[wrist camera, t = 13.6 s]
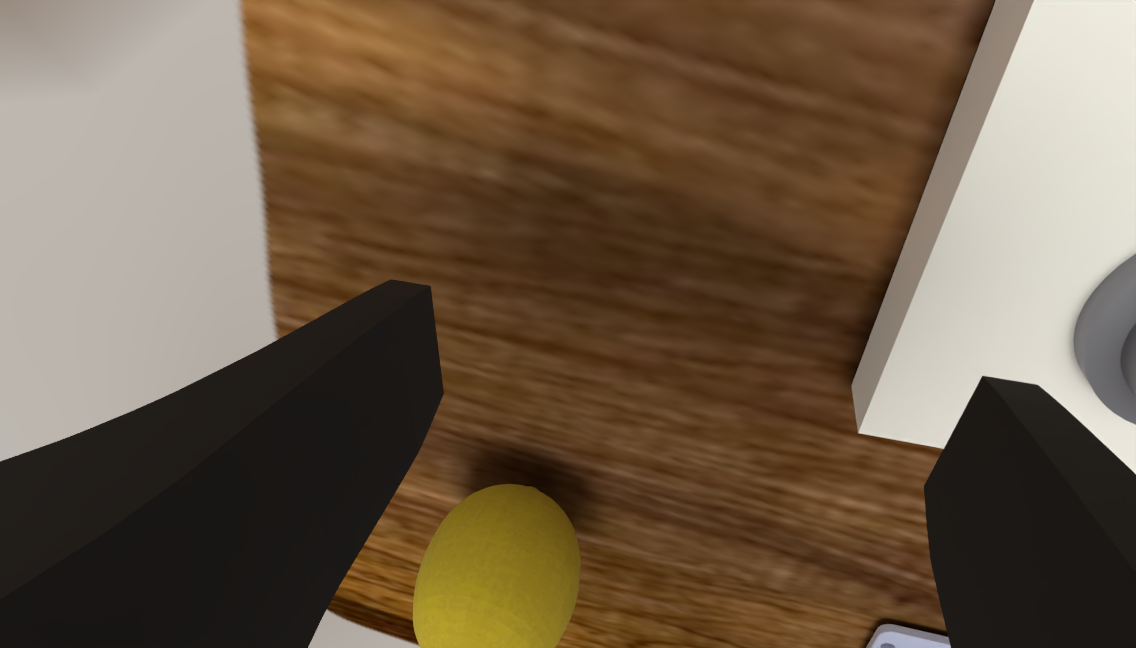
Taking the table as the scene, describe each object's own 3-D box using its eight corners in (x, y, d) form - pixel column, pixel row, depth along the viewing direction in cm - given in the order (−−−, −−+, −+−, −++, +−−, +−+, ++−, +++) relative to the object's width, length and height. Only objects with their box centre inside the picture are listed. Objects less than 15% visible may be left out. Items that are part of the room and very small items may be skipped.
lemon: (466, 425, 25) (365, 621, 19) (609, 461, 24) (552, 678, 18) (466, 514, 28) (381, 705, 22) (592, 548, 28) (539, 756, 21)
